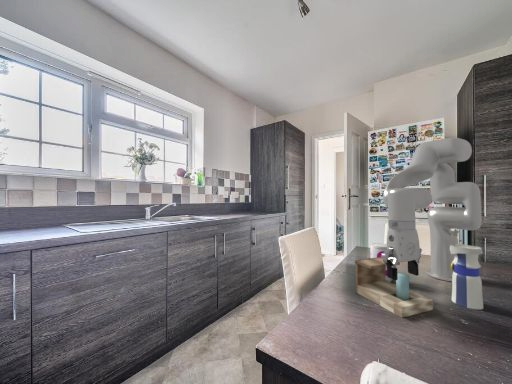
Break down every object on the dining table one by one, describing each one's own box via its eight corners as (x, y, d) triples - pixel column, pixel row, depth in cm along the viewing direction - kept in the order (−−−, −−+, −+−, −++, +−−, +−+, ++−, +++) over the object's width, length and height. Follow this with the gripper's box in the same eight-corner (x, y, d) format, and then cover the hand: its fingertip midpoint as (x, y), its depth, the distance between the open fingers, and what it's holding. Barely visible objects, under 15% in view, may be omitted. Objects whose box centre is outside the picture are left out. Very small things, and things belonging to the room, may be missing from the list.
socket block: (383, 286, 85) (382, 256, 85) (433, 309, 68) (432, 271, 68) (355, 292, 81) (355, 260, 81) (401, 317, 64) (401, 277, 64)
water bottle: (444, 300, 74) (443, 228, 75) (457, 295, 78) (456, 227, 78) (475, 312, 67) (474, 232, 67) (489, 306, 70) (487, 230, 71)
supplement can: (395, 284, 88) (395, 247, 88) (374, 282, 90) (373, 246, 90) (387, 276, 96) (387, 243, 96) (367, 275, 98) (367, 242, 98)
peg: (411, 307, 70) (411, 276, 70) (404, 309, 68) (403, 278, 69) (401, 302, 73) (400, 272, 73) (393, 303, 72) (393, 274, 72)
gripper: (393, 229, 65) (394, 285, 65) (431, 225, 71) (432, 276, 71) (372, 225, 72) (373, 276, 72) (408, 222, 78) (409, 269, 78)
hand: (402, 276), depth 71 cm, fingers open, 9 cm apart
